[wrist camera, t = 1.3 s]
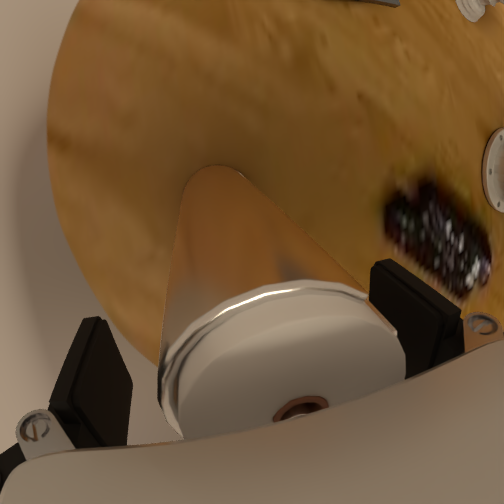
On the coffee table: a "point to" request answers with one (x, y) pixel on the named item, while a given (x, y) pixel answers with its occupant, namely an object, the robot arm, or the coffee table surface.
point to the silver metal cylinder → (261, 317)
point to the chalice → (474, 8)
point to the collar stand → (384, 2)
